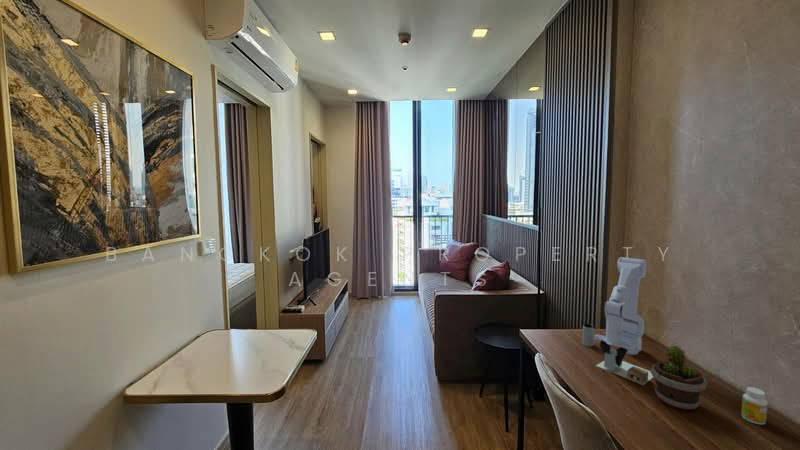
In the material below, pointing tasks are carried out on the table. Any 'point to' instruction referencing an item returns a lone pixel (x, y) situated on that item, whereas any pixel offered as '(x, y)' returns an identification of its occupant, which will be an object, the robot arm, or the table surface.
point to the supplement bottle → (754, 406)
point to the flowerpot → (678, 381)
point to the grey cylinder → (588, 335)
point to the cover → (638, 374)
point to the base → (625, 371)
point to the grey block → (611, 359)
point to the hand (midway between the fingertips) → (613, 362)
